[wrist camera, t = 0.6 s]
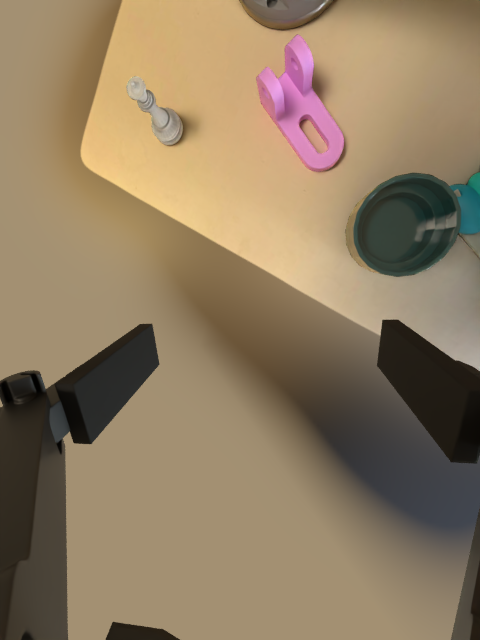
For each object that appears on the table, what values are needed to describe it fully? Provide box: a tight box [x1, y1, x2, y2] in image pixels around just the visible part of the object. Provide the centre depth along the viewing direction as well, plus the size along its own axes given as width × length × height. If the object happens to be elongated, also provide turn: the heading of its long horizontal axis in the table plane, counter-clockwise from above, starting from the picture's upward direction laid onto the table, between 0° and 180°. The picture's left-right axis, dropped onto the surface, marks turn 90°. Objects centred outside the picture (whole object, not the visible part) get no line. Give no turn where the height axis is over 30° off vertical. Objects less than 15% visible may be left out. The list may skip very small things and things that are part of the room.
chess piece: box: [127, 76, 183, 145], centre depth 34 cm, size 4×4×10 cm
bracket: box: [256, 35, 344, 172], centre depth 33 cm, size 13×6×7 cm, turn 38°
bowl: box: [345, 173, 461, 277], centre depth 35 cm, size 12×12×6 cm
